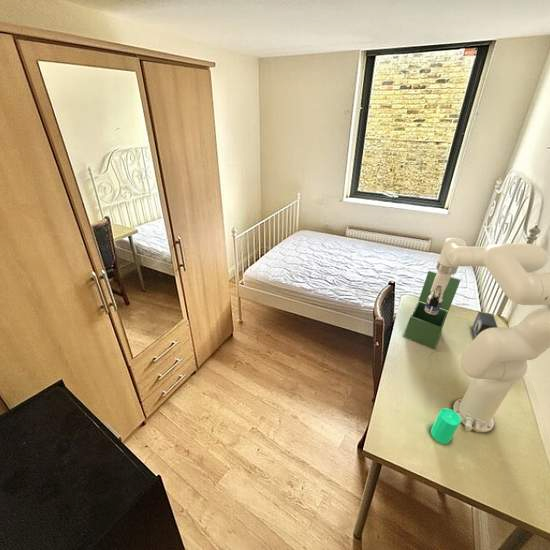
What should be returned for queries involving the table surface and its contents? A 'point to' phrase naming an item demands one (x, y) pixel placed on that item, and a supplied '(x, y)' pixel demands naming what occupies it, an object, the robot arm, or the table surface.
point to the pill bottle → (429, 308)
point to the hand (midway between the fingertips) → (434, 302)
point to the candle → (445, 425)
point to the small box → (483, 323)
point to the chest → (425, 325)
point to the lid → (447, 294)
